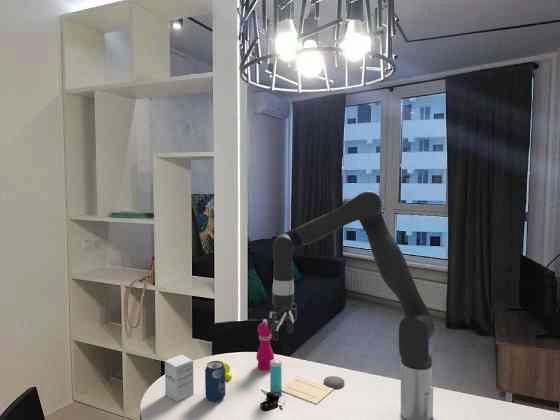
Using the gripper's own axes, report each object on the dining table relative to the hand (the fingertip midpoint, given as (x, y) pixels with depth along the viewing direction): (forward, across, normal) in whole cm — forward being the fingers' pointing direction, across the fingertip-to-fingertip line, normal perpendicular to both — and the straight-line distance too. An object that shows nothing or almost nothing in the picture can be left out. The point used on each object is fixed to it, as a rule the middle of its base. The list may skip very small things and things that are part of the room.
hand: (282, 336), depth 135 cm
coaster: (+21, +17, -11) cm, 29 cm away
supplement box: (+22, -22, +29) cm, 43 cm away
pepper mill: (+22, +12, +18) cm, 30 cm away
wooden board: (+21, +7, -6) cm, 23 cm away
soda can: (+22, -16, +17) cm, 32 cm away
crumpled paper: (+22, -5, +25) cm, 34 cm away
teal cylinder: (+21, -2, +1) cm, 21 cm away
